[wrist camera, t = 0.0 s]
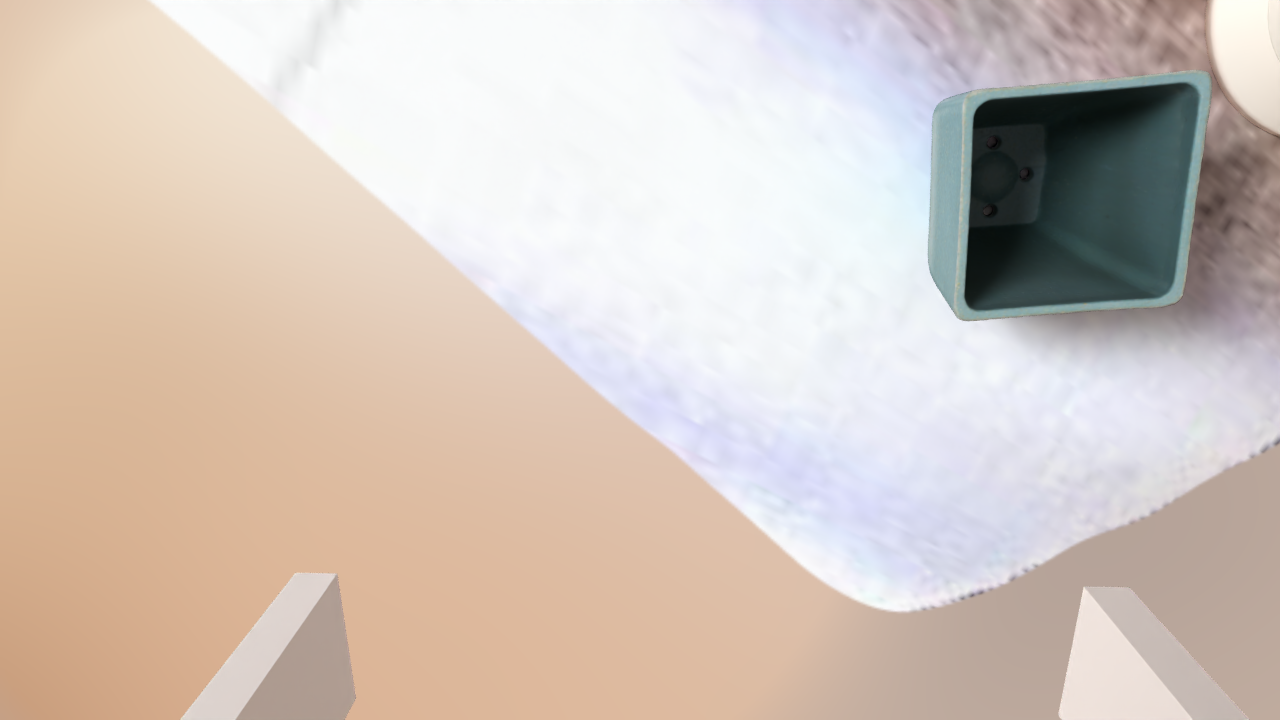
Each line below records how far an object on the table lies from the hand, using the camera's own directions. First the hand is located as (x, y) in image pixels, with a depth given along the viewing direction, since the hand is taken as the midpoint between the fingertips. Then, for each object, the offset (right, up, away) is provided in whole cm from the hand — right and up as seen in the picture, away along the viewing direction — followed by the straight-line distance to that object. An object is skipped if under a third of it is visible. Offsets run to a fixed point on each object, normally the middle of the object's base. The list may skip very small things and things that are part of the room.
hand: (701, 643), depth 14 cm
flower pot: (+16, +14, +24) cm, 32 cm away
